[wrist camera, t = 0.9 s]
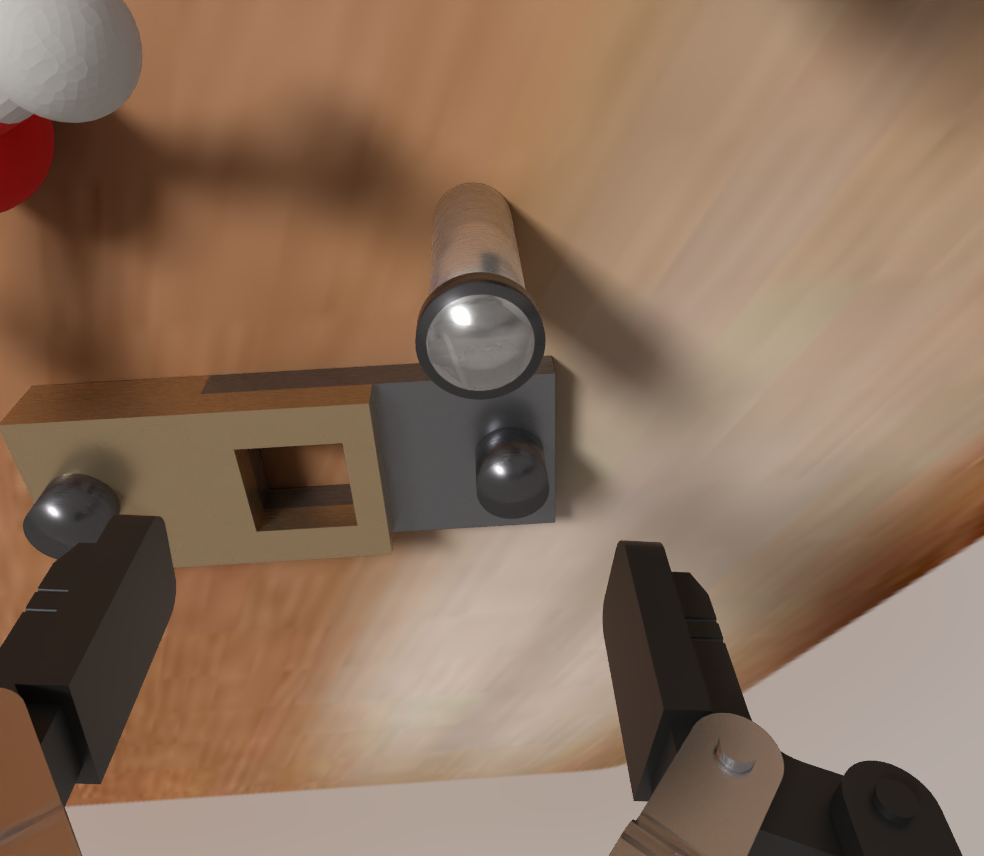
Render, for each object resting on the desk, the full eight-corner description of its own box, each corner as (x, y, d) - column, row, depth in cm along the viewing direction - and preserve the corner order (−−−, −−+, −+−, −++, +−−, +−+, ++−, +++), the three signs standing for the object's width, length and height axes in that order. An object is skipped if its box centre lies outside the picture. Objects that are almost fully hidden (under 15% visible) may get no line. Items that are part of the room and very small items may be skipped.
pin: (518, 172, 29) (544, 279, 21) (520, 263, 31) (545, 395, 23) (421, 177, 29) (409, 287, 21) (429, 268, 31) (421, 403, 23)
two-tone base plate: (551, 355, 34) (565, 420, 29) (551, 502, 38) (563, 575, 34) (31, 386, 33) (-29, 455, 29) (93, 529, 38) (48, 607, 34)
